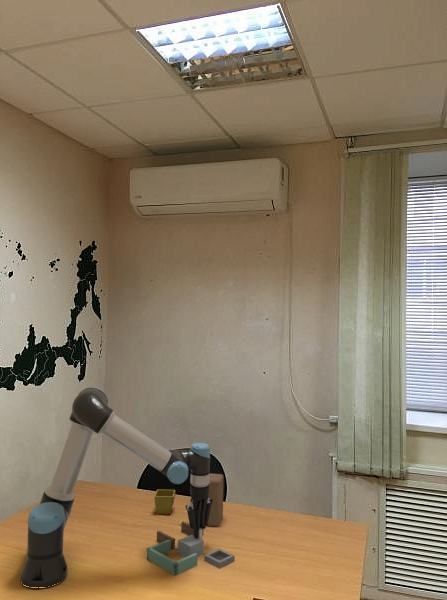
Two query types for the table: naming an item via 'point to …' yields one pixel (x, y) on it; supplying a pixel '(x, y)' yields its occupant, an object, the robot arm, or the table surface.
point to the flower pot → (164, 501)
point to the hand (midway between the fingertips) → (198, 545)
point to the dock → (166, 563)
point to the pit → (219, 558)
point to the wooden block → (216, 499)
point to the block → (190, 546)
